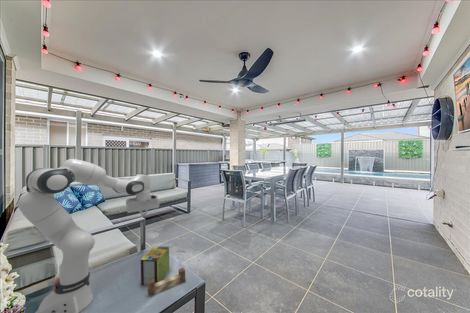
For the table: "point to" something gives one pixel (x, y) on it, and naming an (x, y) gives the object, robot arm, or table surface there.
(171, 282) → the beam
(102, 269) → the table surface
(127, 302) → the table surface
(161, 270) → the protein box
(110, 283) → the table surface
